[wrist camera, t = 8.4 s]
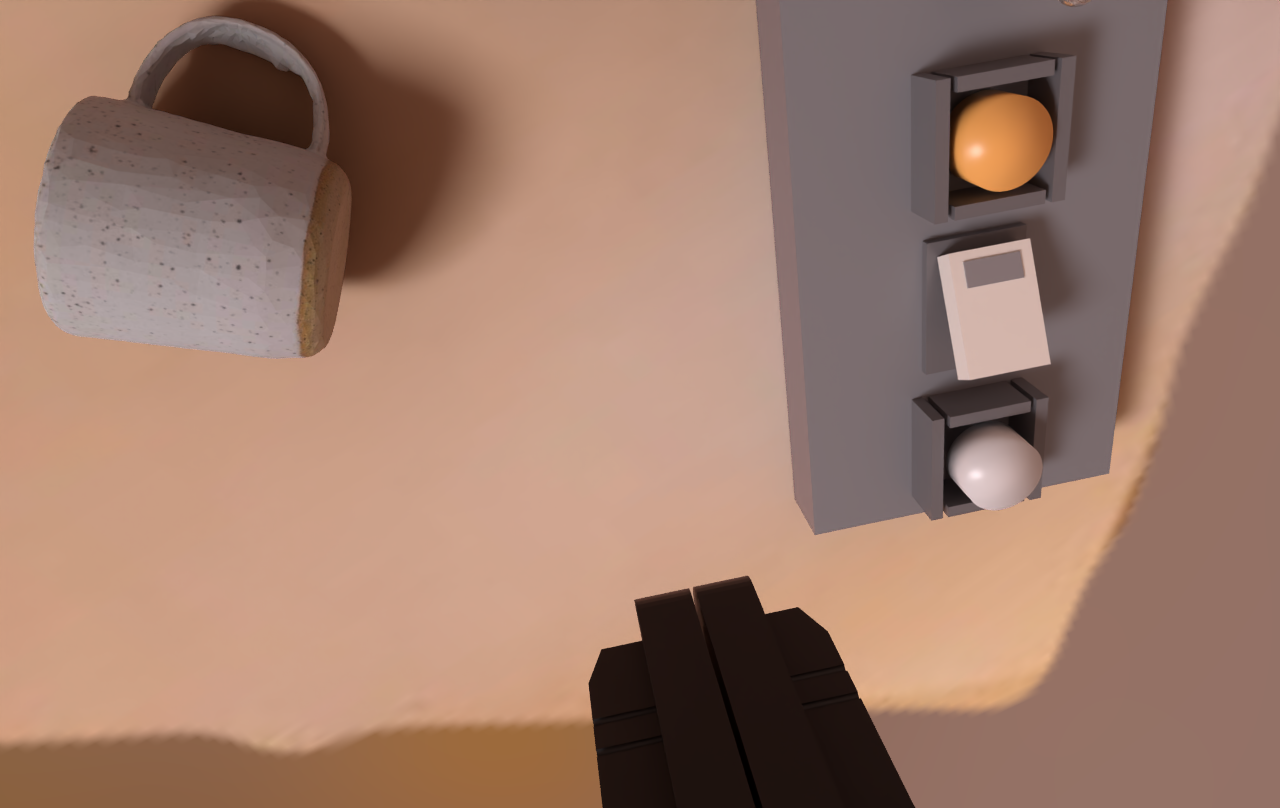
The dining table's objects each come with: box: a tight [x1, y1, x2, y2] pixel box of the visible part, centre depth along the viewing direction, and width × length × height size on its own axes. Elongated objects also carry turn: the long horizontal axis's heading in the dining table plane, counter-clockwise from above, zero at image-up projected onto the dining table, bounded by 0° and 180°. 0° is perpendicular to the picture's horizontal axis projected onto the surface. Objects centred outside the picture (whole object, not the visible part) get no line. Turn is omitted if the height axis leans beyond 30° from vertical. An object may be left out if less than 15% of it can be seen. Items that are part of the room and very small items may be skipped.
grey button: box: [946, 421, 1043, 510], centre depth 35 cm, size 3×3×2 cm
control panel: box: [756, 0, 1168, 535], centre depth 33 cm, size 27×14×5 cm, turn 9°
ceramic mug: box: [34, 16, 352, 359], centre depth 28 cm, size 11×8×8 cm
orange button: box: [949, 89, 1053, 192], centre depth 30 cm, size 3×3×2 cm
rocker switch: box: [937, 238, 1051, 380], centre depth 32 cm, size 5×3×1 cm
